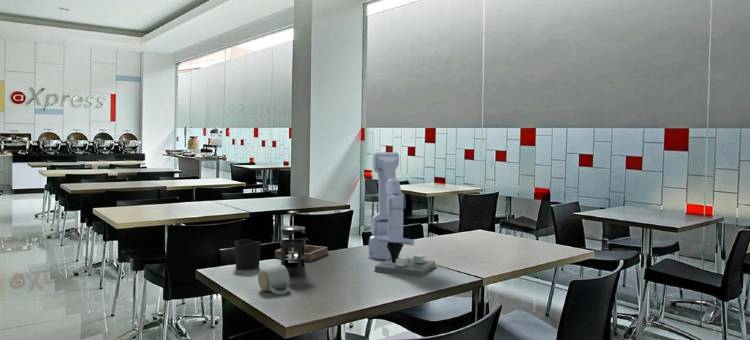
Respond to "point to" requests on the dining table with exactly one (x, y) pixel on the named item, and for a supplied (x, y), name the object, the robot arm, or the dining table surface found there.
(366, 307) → the dining table surface
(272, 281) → the ceramic mug
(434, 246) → the dining table surface
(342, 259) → the dining table surface
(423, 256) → the sage fader
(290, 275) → the french press
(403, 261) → the block
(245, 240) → the pen holder
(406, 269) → the console
